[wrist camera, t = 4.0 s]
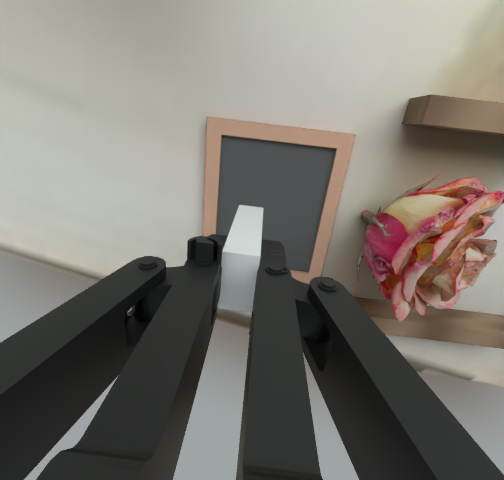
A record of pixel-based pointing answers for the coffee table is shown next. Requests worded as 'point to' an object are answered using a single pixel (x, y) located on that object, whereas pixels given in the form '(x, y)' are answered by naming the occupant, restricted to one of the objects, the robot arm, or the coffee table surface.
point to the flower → (430, 244)
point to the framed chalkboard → (277, 185)
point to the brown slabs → (434, 320)
